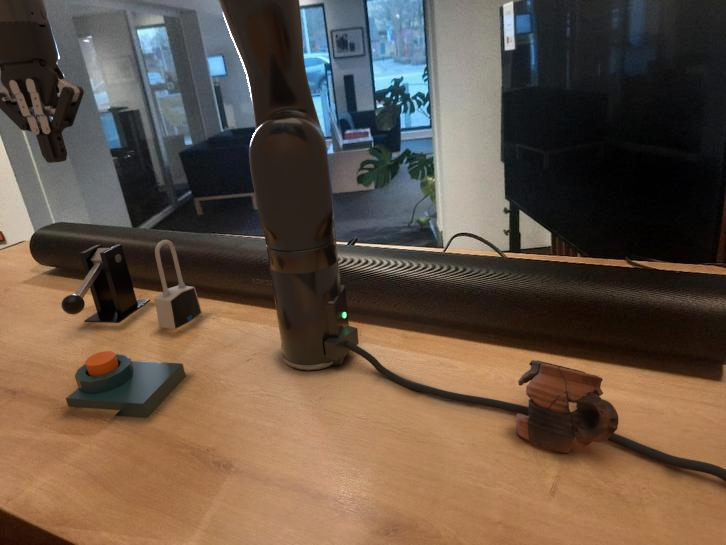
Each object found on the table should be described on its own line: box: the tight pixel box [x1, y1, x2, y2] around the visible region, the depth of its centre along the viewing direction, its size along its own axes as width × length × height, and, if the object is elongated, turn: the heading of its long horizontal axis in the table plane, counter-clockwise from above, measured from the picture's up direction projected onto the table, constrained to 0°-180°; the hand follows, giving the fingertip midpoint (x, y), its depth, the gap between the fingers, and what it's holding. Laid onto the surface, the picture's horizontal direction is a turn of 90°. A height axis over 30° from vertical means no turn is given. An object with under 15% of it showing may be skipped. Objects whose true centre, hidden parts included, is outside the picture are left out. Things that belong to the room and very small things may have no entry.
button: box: [84, 350, 119, 376], centre depth 64 cm, size 4×4×2 cm
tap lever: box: [61, 247, 110, 315], centre depth 82 cm, size 13×3×3 cm, turn 168°
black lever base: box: [78, 244, 151, 324], centre depth 87 cm, size 9×7×13 cm
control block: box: [65, 353, 187, 419], centre depth 65 cm, size 12×9×4 cm
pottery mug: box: [515, 359, 619, 454], centre depth 52 cm, size 12×10×8 cm
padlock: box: [154, 239, 203, 330], centre depth 81 cm, size 7×4×15 cm, turn 155°
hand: (57, 161), depth 68 cm, fingers closed
